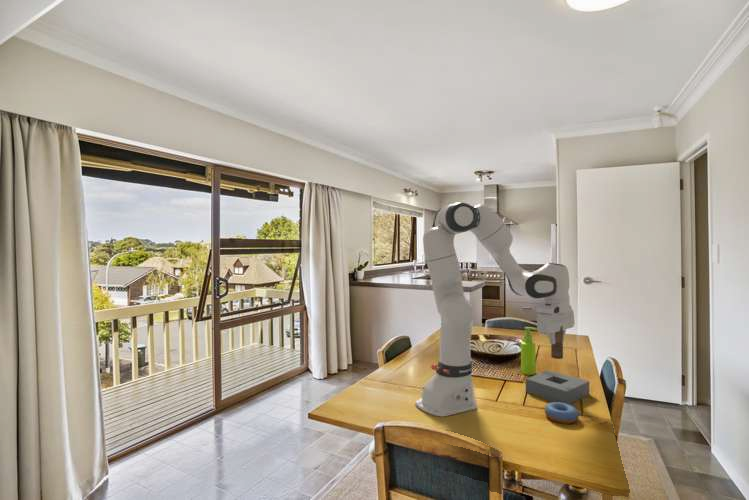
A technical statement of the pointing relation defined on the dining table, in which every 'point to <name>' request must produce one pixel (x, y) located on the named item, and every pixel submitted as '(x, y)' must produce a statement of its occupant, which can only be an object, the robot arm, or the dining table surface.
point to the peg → (558, 345)
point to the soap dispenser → (528, 353)
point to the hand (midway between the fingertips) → (556, 342)
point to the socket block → (557, 387)
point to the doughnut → (561, 412)
